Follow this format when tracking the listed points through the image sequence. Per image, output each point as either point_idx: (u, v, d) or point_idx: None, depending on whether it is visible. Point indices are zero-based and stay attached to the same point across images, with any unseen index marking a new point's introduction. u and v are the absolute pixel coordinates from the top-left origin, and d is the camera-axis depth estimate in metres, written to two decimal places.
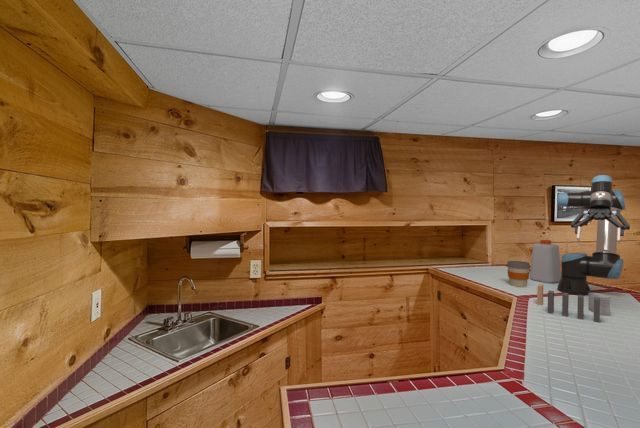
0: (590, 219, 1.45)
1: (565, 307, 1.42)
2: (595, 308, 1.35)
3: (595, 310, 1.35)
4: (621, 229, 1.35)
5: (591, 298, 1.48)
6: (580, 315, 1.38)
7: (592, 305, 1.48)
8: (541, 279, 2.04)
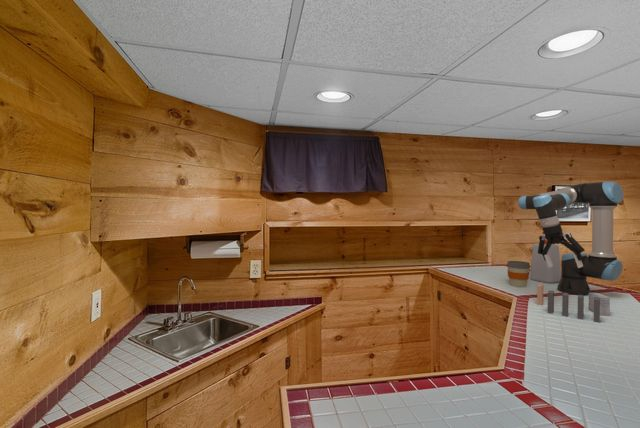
0: (550, 244, 1.52)
1: (565, 307, 1.42)
2: (595, 308, 1.35)
3: (595, 310, 1.35)
4: (577, 255, 1.41)
5: (591, 298, 1.48)
6: (580, 315, 1.38)
7: (592, 305, 1.48)
8: (541, 279, 2.04)
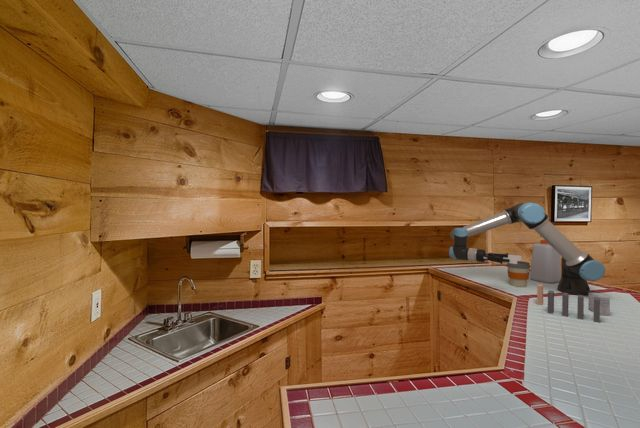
0: (496, 256, 1.76)
1: (565, 307, 1.42)
2: (595, 308, 1.35)
3: (595, 310, 1.35)
4: None
5: (591, 298, 1.48)
6: (580, 315, 1.38)
7: (592, 305, 1.48)
8: (541, 279, 2.04)
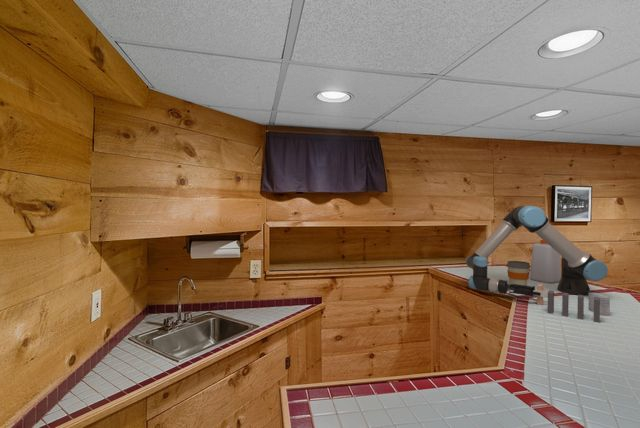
0: (519, 288, 1.68)
1: (565, 307, 1.42)
2: (595, 308, 1.35)
3: (595, 310, 1.35)
4: (534, 294, 1.59)
5: (591, 298, 1.48)
6: (580, 315, 1.38)
7: (592, 305, 1.48)
8: (541, 279, 2.04)
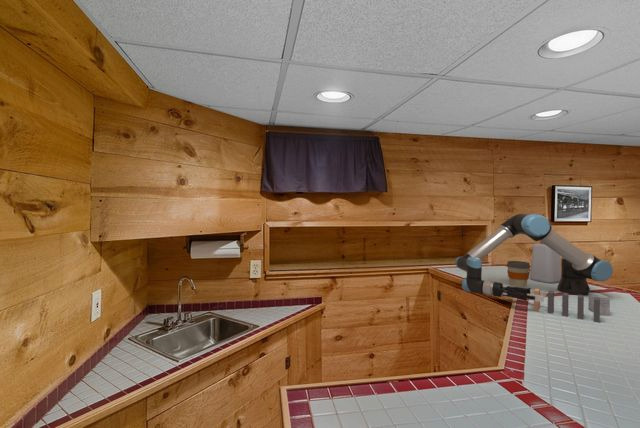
0: (515, 290, 1.59)
1: (565, 307, 1.42)
2: (595, 308, 1.35)
3: (595, 310, 1.35)
4: None
5: (591, 298, 1.48)
6: (580, 315, 1.38)
7: (592, 305, 1.48)
8: (541, 279, 2.04)
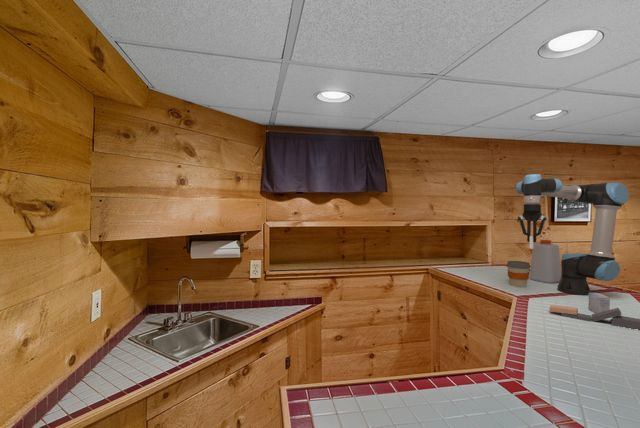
0: (530, 222, 1.61)
1: (603, 316, 1.33)
2: (631, 326, 1.27)
3: (628, 326, 1.28)
4: (534, 237, 1.59)
5: (591, 298, 1.48)
6: (617, 320, 1.30)
7: (592, 305, 1.48)
8: (541, 279, 2.04)
